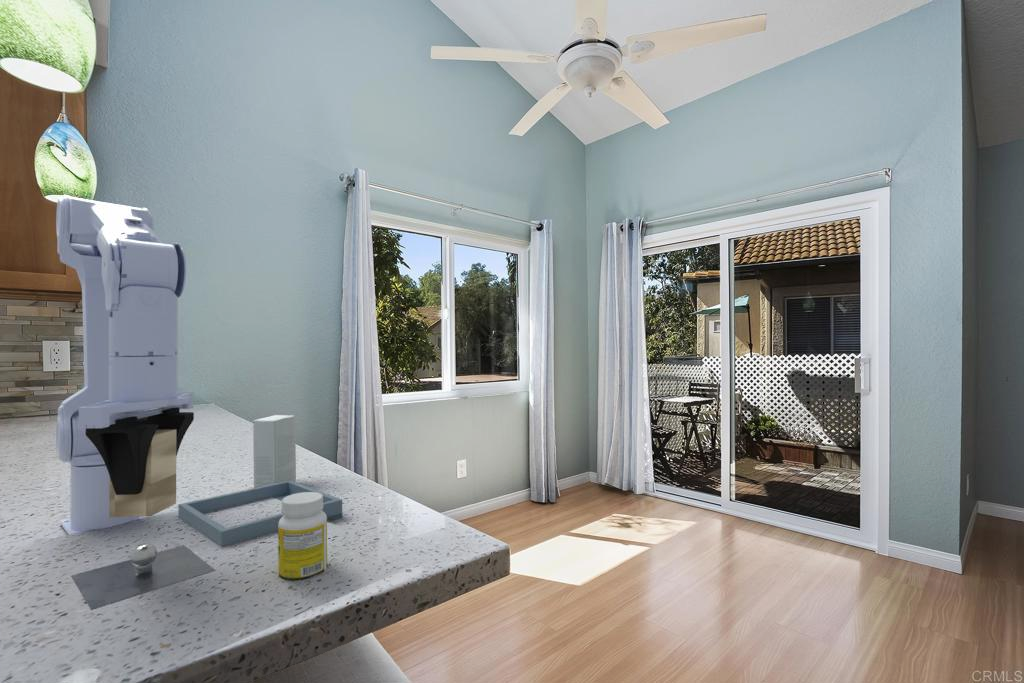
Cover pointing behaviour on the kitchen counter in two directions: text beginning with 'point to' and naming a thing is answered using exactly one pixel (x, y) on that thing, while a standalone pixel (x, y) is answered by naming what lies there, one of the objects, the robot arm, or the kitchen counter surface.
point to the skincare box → (274, 450)
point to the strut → (151, 481)
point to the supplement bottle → (302, 537)
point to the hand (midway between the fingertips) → (144, 487)
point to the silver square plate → (139, 574)
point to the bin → (226, 536)
